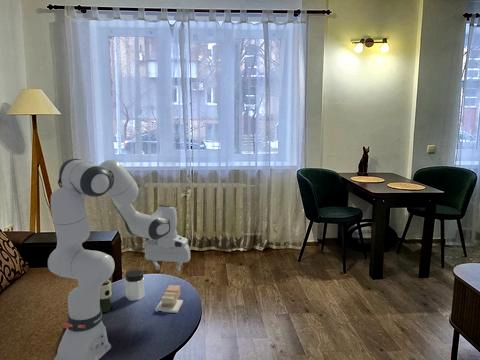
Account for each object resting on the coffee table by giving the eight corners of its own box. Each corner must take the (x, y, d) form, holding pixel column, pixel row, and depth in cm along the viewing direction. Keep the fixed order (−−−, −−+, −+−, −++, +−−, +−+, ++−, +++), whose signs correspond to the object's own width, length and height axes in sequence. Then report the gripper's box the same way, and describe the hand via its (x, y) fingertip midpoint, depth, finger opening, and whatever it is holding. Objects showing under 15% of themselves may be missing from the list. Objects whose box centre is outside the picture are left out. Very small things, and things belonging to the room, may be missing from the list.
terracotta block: (177, 299, 194) (177, 290, 193) (166, 298, 194) (166, 290, 193) (180, 294, 199) (180, 285, 198) (169, 293, 200) (169, 285, 199)
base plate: (177, 312, 181) (177, 310, 181) (155, 311, 183) (155, 309, 183) (183, 302, 191) (182, 300, 191) (162, 300, 192) (162, 298, 192)
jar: (147, 298, 195) (146, 274, 193) (130, 302, 190) (129, 278, 188) (140, 290, 202) (139, 268, 200) (123, 295, 198) (122, 271, 195)
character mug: (105, 317, 178) (103, 289, 175) (90, 315, 179) (88, 287, 177) (117, 304, 188) (115, 278, 186) (103, 303, 190) (101, 277, 187)
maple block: (173, 307, 184) (173, 298, 183) (161, 307, 185) (161, 297, 184) (177, 302, 189) (176, 293, 188) (165, 301, 190) (165, 292, 189)
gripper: (142, 241, 179) (143, 271, 181) (187, 243, 176) (188, 274, 179) (147, 236, 185) (148, 265, 188) (191, 239, 183) (191, 268, 185)
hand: (167, 269), depth 183 cm, fingers open, 8 cm apart
